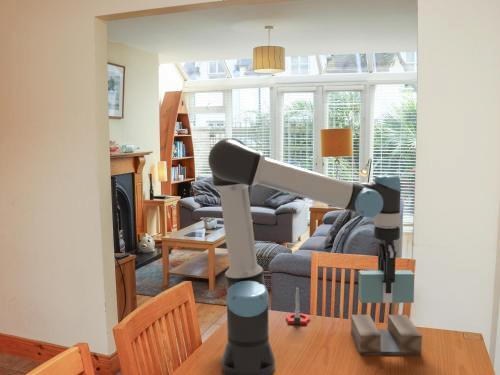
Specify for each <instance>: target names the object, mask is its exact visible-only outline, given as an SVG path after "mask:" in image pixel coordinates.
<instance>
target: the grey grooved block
mask: <svg viewBox="0 0 500 375" xmlns="http://www.w3.org/2000/svg"><path fill="white" fill-rule="evenodd" d="M350 333H351V336H352V338H353V340H354V343H355V346H356V349H357V350H358V352H359V355H360V356H363V355H364V356H367V355H368V356H369V355H371V356H422V343H423V342H422V340H423V336H422V334H421V332H420V331H419V330H418V328H417V327H416V325H414V323H413V322H412V321H411V319H410V317H409V316H408V315H407V314H388V315H387V328H386V329H383V328H382V329H381V328H380V329H379V328H377V326H376V324H375V322H374V320H373V318H372V317H371V315H370V314H351V315H350Z"/></svg>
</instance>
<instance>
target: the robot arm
mask: <svg viewBox="0 0 500 375" xmlns="http://www.w3.org/2000/svg"><path fill="white" fill-rule="evenodd" d="M208 167H209V169H210V172H211V176H212V182H213V187H214V188H215V189H217V190H218V192H219V196H220V197H219V198H220V203H221V204H220V206H221V210H222V211H221V214H222V222H223V227H224V235H225V243H226V249H227V250H226V252H227V259H228V266H229V267H228V268H227V270H226V271H225V273H224V275H225V281H226V289H227V290H226V291H227V292H226V297H225V303H226V322H227V323H226V325H227V328H226V329H227V332H226V333H227V343H226V344H225V349H224V352H223V355H222V357H221V370H222V373H223V374H225V375H271V374H272V373H274V371H275V370H276V369H275V368H276V358H275V355H274V353H273V350H272V345H271V343H270V340H269V339H270V338H269V336H270V334H269V330H270V329H269V327H270V326H269V304H270V303H269V302H270V297H269V292H268V288H267V287H266V283H265V277H264V269H263V267H262V266H261V265H259V264H258V261H257V253H256V244H255V242H256V241H255V236H254V228H253V218H252V211H251V202H250V195H249V194H250V193H249V187H253V186H256V185H260V186H262V187H267V188H269V189H273V190H276V191H281V192H284V193H286V194H287V193H288V194H291V195H294V196H296V197H297V196H298V197H301V198H305V199H308V200H311V201H315V202H319V203H322V204H326V205H329V206H333V207H335V208H340V209H342V210H346V211H348V212H352V213H355V214H358V215H360V216H361V217H365V218H374V219H373V224H374V226H373V237H374V238H375V240H378V241H377V244H376V245H377V270H384V281H382V283H383V303H382V304H390V303H391V304H393V303H392V288H393V283H394V282H395V270H396V257H397V251H395V245H394V241H397V240H399V239H400V235H401V233H400V232H401V231H400V230H401V228H400V227H399V225H401V223H400V222H401V219H402V214H401V195H402V194H401V193H402V189H401V188H402V184H401V178H400V177H399V176H397V175H394V174H378V175H376V176H375V177H374V180H373V181H370V182H349V181H346V180H343V179H341V178H340V179H339V178H335V177H333V176H329V175H325V174H324V173H319V172H316V171H312V170H309V169H305V168H302V167H298V166H296V165H293V164H288V163H286V162H285V163H284V162H282V161H280V160H279V161H278V160H276V159H272V158H268V157H265V156H264V153H263V152H261V151H257V150H254V149H253V148H250V147H248V146H246V145H245V143H244V142H242V141H241V140H239V139H237V138H234V137H233V138H232V137H231V138H228V137H227V138H223V139H221V140H219V141H218V142H216V143H215V144H213V146H212V148H211V149H210V150H209V153H208Z"/></svg>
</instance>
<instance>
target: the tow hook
mask: <svg viewBox="0 0 500 375" xmlns="http://www.w3.org/2000/svg"><path fill="white" fill-rule="evenodd" d="M295 290H296V291H295V292H296V293H295V310H294V312H293V313H289V314H287V315H286V317H285V320H286V321H287V325H294V326H295V325H297V326H308V322H310V320H311V319H310V318H311V317H310V316H309V315H308V314H306V313H300V312H301V311H300V293H299V291H300V290H299V287H296V288H295ZM306 315H307V316H306ZM301 318H303V319H301Z"/></svg>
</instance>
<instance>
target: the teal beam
mask: <svg viewBox="0 0 500 375" xmlns="http://www.w3.org/2000/svg"><path fill="white" fill-rule="evenodd" d="M382 281H384V270H378V269H377V270H358V300H359V302H360V304H361V303H362V304H363V303H364V304H376V303H377V304H384V303H383V283H382ZM414 297H415V273H414V272H413V271H412V270H408V269H407V270H404V269H403V270H400V269H399V270H397V269H395V282H394V283H393V288H392V303H391V304H396V303H397V304H401V303H402V304H403V303H404V304H405V303H406V304H407V303H408V304H411V303H412V304H413V303H414V300H415V298H414Z"/></svg>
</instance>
